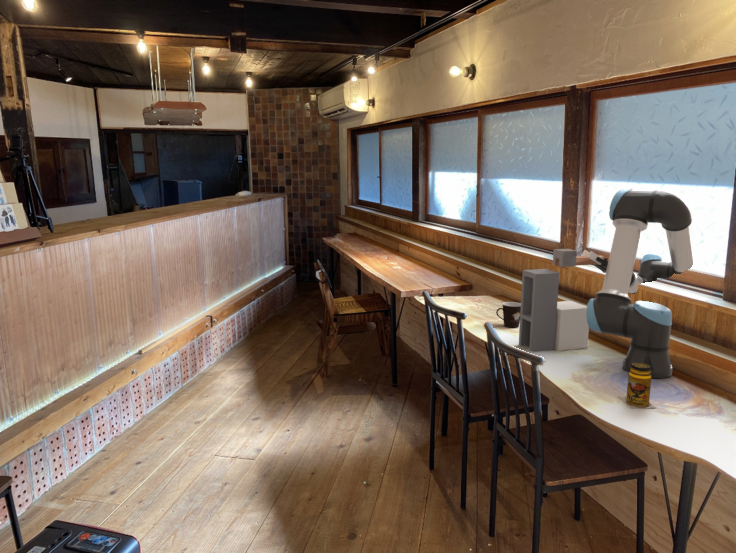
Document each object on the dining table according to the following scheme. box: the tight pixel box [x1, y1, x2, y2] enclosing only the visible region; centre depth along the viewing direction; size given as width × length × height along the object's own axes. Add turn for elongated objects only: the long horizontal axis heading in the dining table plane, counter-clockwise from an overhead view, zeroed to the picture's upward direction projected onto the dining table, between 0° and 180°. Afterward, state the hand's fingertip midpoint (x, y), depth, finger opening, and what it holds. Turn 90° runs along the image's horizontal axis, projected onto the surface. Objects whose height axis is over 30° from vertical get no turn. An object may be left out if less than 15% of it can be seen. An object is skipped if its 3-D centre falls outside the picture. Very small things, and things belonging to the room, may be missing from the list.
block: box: [554, 300, 590, 351], centre depth 214 cm, size 12×13×16 cm
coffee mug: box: [495, 301, 521, 329], centre depth 241 cm, size 12×9×10 cm
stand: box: [518, 268, 560, 353], centre depth 210 cm, size 9×10×30 cm
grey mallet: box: [552, 248, 606, 268], centre depth 211 cm, size 6×20×6 cm, turn 106°
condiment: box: [618, 363, 657, 409], centre depth 160 cm, size 7×8×12 cm
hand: (586, 253), depth 211 cm, fingers closed on grey mallet, 3 cm apart
